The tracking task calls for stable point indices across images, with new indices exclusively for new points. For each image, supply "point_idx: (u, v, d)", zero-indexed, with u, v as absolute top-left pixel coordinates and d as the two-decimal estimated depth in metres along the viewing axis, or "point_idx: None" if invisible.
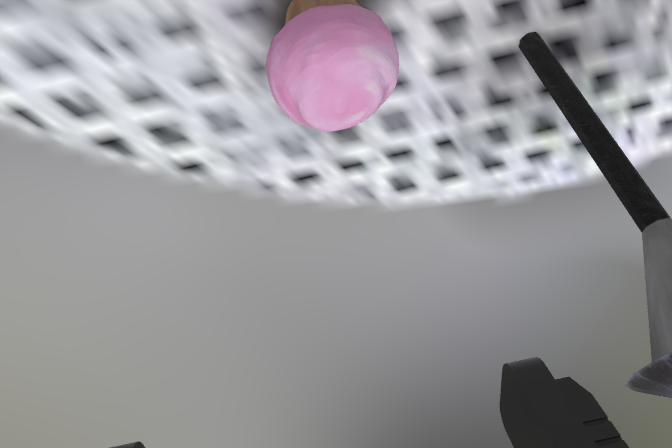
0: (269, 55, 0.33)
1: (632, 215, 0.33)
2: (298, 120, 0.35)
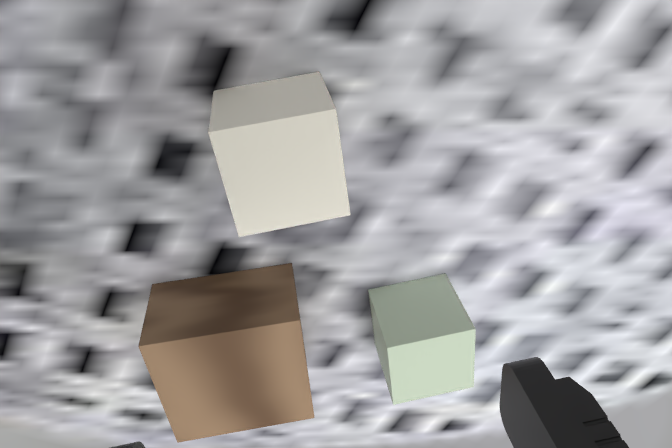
0: None
1: None
2: None
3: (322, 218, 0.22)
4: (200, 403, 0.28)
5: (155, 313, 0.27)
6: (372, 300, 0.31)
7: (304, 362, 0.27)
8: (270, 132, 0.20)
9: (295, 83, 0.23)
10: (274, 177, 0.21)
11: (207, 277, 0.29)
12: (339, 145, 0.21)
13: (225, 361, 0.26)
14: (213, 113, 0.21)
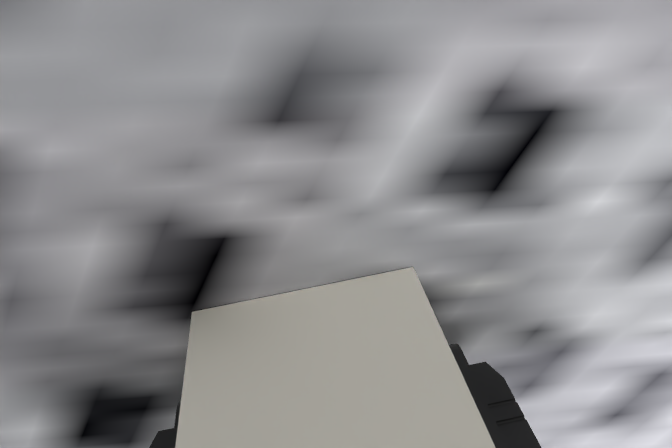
0: None
1: None
2: None
3: None
4: None
5: None
6: None
7: None
8: None
9: (370, 314, 0.10)
10: None
11: None
12: None
13: None
14: (184, 432, 0.09)
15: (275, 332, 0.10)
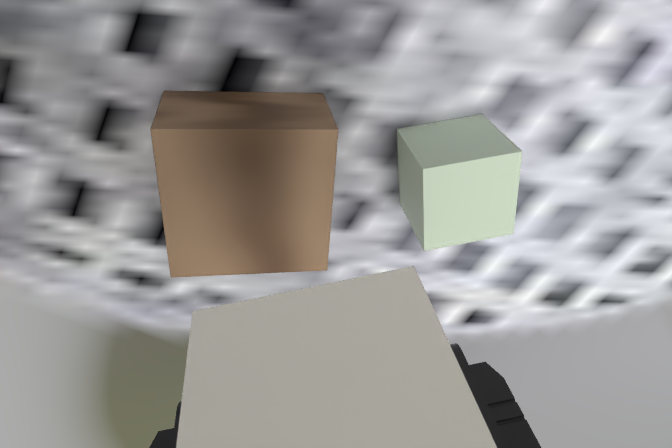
0: None
1: None
2: None
3: None
4: (206, 226, 0.24)
5: (169, 109, 0.23)
6: (402, 136, 0.28)
7: (331, 190, 0.24)
8: None
9: (371, 313, 0.10)
10: None
11: (228, 92, 0.26)
12: None
13: (245, 172, 0.23)
14: (185, 431, 0.09)
15: (276, 331, 0.10)
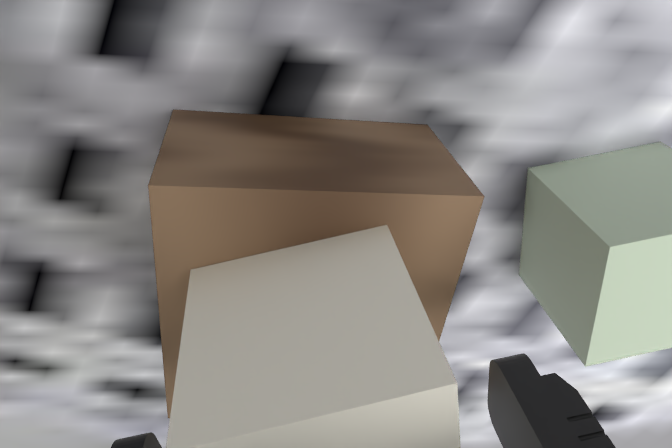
0: None
1: None
2: None
3: None
4: None
5: (182, 145, 0.13)
6: (542, 181, 0.17)
7: (451, 292, 0.14)
8: (308, 436, 0.09)
9: (346, 264, 0.12)
10: None
11: (278, 117, 0.16)
12: (456, 437, 0.09)
13: None
14: (183, 362, 0.10)
15: (263, 282, 0.12)
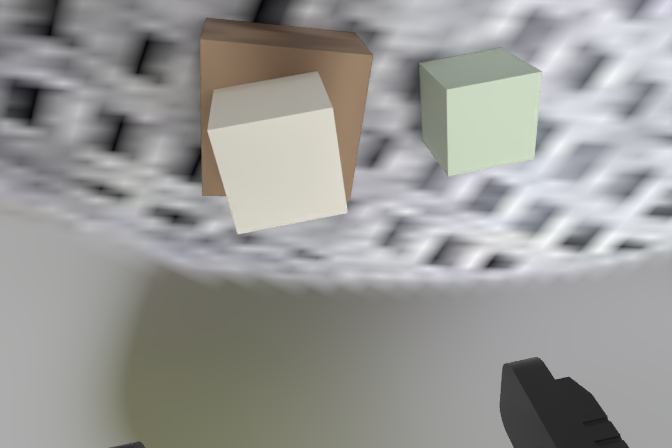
0: None
1: None
2: None
3: (320, 215, 0.23)
4: None
5: (214, 29, 0.25)
6: (424, 68, 0.29)
7: (361, 117, 0.26)
8: (268, 130, 0.20)
9: (294, 83, 0.23)
10: (272, 174, 0.21)
11: (266, 24, 0.27)
12: (336, 143, 0.21)
13: None
14: (212, 112, 0.21)
15: (251, 90, 0.23)
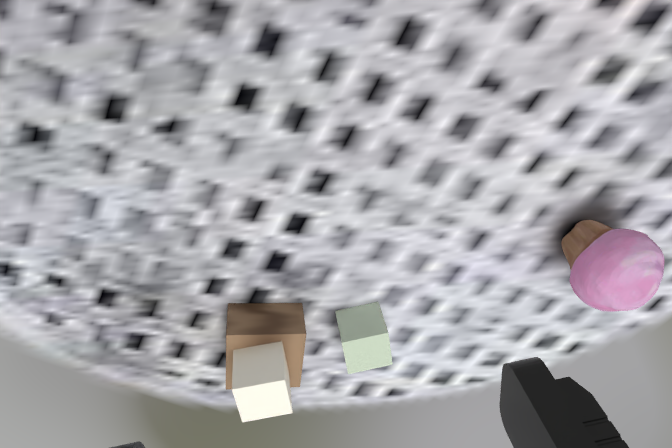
0: (574, 291, 0.52)
1: None
2: (619, 310, 0.51)
3: (279, 414, 0.51)
4: None
5: (232, 319, 0.52)
6: (336, 317, 0.56)
7: (302, 355, 0.54)
8: (257, 388, 0.48)
9: (270, 352, 0.51)
10: (258, 401, 0.49)
11: (257, 304, 0.55)
12: (286, 390, 0.49)
13: None
14: (233, 372, 0.49)
15: (250, 355, 0.51)
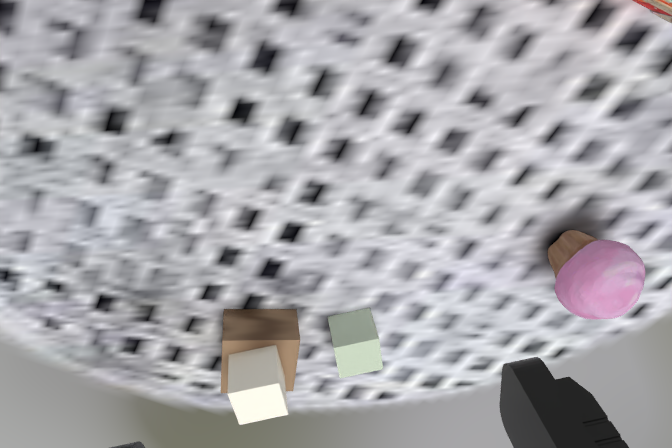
0: (559, 299, 0.54)
1: None
2: (601, 318, 0.53)
3: (275, 416, 0.52)
4: None
5: (228, 325, 0.54)
6: (329, 322, 0.58)
7: (296, 360, 0.55)
8: (252, 391, 0.49)
9: (264, 355, 0.52)
10: (254, 404, 0.50)
11: (252, 309, 0.56)
12: (281, 393, 0.50)
13: None
14: (229, 377, 0.51)
15: (245, 359, 0.52)
